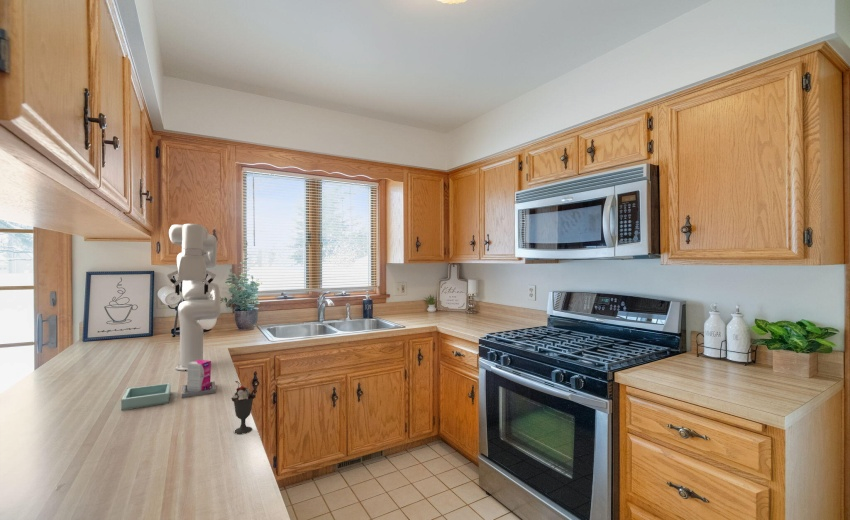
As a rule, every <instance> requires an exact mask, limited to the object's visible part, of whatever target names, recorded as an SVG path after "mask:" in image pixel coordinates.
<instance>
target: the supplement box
mask: <svg viewBox="0 0 850 520" xmlns="http://www.w3.org/2000/svg"><path fill="white" fill-rule="evenodd" d="M211 371H212V361H211V360H206V359H205V360H204V359H203V360H197V361H193V362H190V363H188V370H187V379H186V381H187V382H186V385H187V390H186V392H193V391H201V390H208V389H211V386H210V382H211V380H212V379H211V374H212V372H211Z"/></svg>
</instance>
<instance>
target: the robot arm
mask: <svg viewBox="0 0 850 520" xmlns="http://www.w3.org/2000/svg"><path fill="white" fill-rule="evenodd" d="M168 236H169V239H170V242H171V243H172V244H174V245H177V246H181V252H179V253H178V254H177V256H176V265H177V270H175V271H173V272H171V273H168V274H167V275H166V276H167V278H168V280H169V281H170V283H172V284H173V285H174V286H175V288H174V289H175V290H174V293H175V294H176V295H177V296H179V295H180V292H182V293H181V295H182V296H181V297H182V300H183V301H181V302H180V303H179V304H178V307H177V314H178V320H179V321H178V323H179V363H178V364H177V365H175V370H176V371H185V370H186V371H188V363H190V362H193V361H197V360H204V329H203V328H204V327H203V326H202V325H201V324H200V323H199V322H198V321H205V320H207V321H208V320H215V319H218V318H219V317H220V315H221V295H220V294H221V293H220V288H219V285H218V284H217V283H215V282H213V281H214V279H215V278H216V275H217V274H216V273H214V272H212V271H209V270H207V269H211V268H214V267H215V266H216V265H217V262H218V261H217V259H218V257H217V256H218V253H217V252H218V242H217V237H216V236H215V235H213V234H210V233H209V231H208V230H207V228H206V227H205V226H204V225H201V224H199V223H184V224H172V225H171V226H170V228H169V230H168ZM176 275H177V280H175V279H174V278H173V276H176ZM207 275H209V276H210V278H209V279H208V280H207V279H206V278H207ZM180 283H182V286H181V289H182V290H181V291H180ZM186 371H185V372H186Z"/></svg>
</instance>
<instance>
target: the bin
mask: <svg viewBox="0 0 850 520" xmlns="http://www.w3.org/2000/svg"><path fill="white" fill-rule="evenodd" d="M171 385H172V384H171V382H168V383H160V384H152V385H150V384H149V385H143V386H136V387H129V388H127V389H126V391H125V392H124V394H123V396H122V398H121V407H120V408H121V409H120V410H121V411H127V410H133V408H134V409H140V408H139V407H141V408H145V407H146V406H148V407H153V405H154V406H161V405H167V403H168V404H169V401H170V397H171V392H172V391H171V390H172V389H171V388H172V386H171Z"/></svg>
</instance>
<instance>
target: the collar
mask: <svg viewBox="0 0 850 520" xmlns="http://www.w3.org/2000/svg"><path fill="white" fill-rule="evenodd" d="M210 387H211V388H210V389H208V390H201V391H193V392H187V384H184V385H182V390H181V399H184V398H190V397H191V398H192V397H199V396H205V395H212V394H217V391H216V390H217V388H216V382H215V381H210ZM198 395H199V396H198Z"/></svg>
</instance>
